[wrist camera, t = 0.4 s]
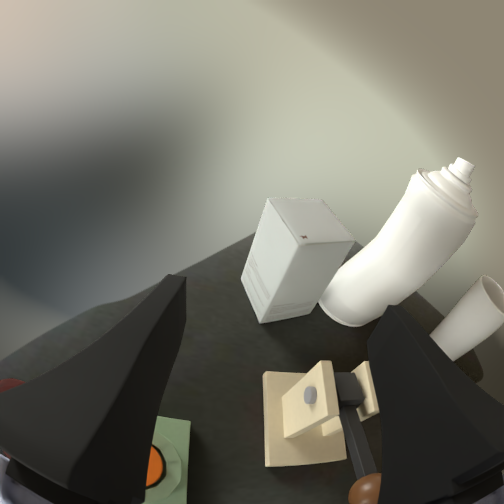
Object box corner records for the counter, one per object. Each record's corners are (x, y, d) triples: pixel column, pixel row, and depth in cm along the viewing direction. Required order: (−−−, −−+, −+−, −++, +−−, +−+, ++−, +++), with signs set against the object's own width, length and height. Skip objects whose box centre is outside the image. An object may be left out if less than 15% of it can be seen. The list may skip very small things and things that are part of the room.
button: (161, 490, 15) (161, 491, 14) (111, 479, 14) (107, 479, 13) (164, 446, 18) (164, 444, 17) (116, 436, 17) (113, 433, 16)
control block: (185, 520, 15) (187, 525, 13) (93, 502, 13) (84, 503, 11) (189, 423, 22) (192, 416, 20) (105, 406, 21) (98, 398, 19)
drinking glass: (439, 348, 36) (503, 285, 26) (441, 384, 31) (517, 323, 21) (409, 335, 36) (474, 266, 27) (409, 374, 31) (488, 305, 22)
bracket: (341, 460, 22) (404, 439, 15) (265, 466, 20) (310, 455, 14) (330, 377, 29) (379, 333, 23) (262, 375, 28) (297, 327, 21)
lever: (382, 512, 11) (411, 499, 10) (344, 523, 11) (371, 513, 9) (344, 391, 22) (362, 368, 20) (312, 392, 21) (327, 368, 20)
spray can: (368, 277, 44) (450, 143, 27) (397, 331, 37) (508, 193, 20) (308, 279, 40) (392, 112, 24) (335, 344, 33) (466, 166, 16)
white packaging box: (311, 315, 35) (359, 241, 27) (258, 325, 32) (297, 244, 24) (288, 272, 40) (323, 197, 32) (238, 277, 37) (266, 195, 29)
